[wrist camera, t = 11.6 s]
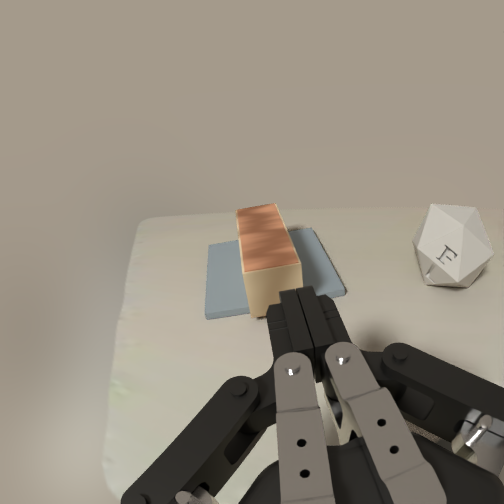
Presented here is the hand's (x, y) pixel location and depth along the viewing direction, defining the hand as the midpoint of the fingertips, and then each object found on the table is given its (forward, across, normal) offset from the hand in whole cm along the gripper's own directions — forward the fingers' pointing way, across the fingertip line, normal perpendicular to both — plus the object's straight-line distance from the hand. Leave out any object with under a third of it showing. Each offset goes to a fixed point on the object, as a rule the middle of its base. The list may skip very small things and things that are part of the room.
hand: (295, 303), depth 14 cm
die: (+12, -19, +12) cm, 25 cm away
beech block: (+11, 0, +8) cm, 14 cm away
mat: (+20, 0, +12) cm, 23 cm away
